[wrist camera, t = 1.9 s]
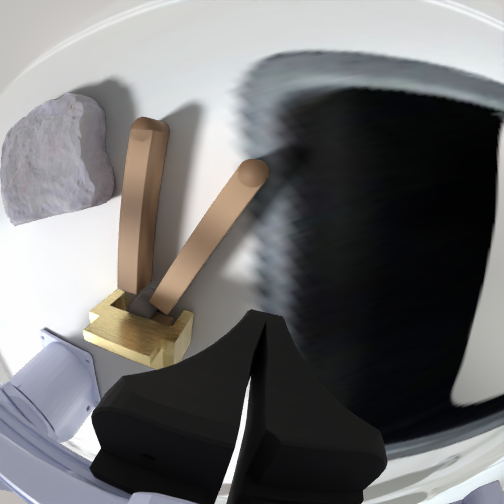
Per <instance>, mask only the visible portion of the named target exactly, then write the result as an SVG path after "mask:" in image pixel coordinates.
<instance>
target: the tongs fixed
mask: <svg viewBox="0 0 504 504" xmlns="http://www.w3.org/2000/svg"><path fill="white" fill-rule="evenodd" d="M168 137H169V127H168V125H167V124H166V123H165V122H162V121H158V120H155V119H151V118H147V117H140V118H138V119H137V120H135V121H134V123H133V124H132V127H131V131H130V137H129V143H128V150H127V156H126V163H125V171H124V179H123V188H122V198H121V209H120V223H119V240H118V289H121V290H124V291H127V292H130V293H133V294H138V293H139V292H140V291H141V290H142V289H143V288H144V287H145V286H146V285H147V284H149V283H150V282H151V278H152V263H153V250H154V239H155V228H156V219H157V210H158V202H159V194H160V187H161V180H162V173H163V167H164V160H165V154H166V148H167V143H168ZM155 291H156V289H153V288H147V289H146V290H145V291H143V292H142V293H141V294H140V295H139V296H138V297H137V298H136V299H135V300H134V301H133V302H132V303H131V304H130V305H129V307H128V310H127V311H126V312H129V313H132V314H135V315H138V316H140V317H143V318H146V319H149V320H152V321H156V322H159V323H162V324H165V325H168V326H171V327H172V317H170V316H166V315H163V314H160V313H157V312H156V311H157V310H158V308H157V307H155V306H154V305H153V304H152V303H150V302H149V300H150V299H151V297H152V295H153V294H154V292H155Z"/></svg>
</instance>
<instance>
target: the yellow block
mask: <svg viewBox="0 0 504 504" xmlns="http://www.w3.org/2000/svg"><path fill="white" fill-rule="evenodd" d="M89 313H90V323H91V324H89V325H88V326H87V327H86V328H85V329H84V330H83V331H84V338H85V340H87V341H89V342H91V343H93V344H94V345H96V346H98V347H101V348H103V349H105V350H108V351H110V352H112V353H115V354H117V355H120V356H122V357H124V358H127V359H130V360H132V361H135V362H137V363H140V364H143V365H145V366H148V367H151V368H154V369H157V370H158V369H161V368H164V367H168V366H171V365H173V364H176V363H179V362H180V361H181V360H182V358H183V356H184V354H185V352H186V350H187V349H188V347H189V345H190V343H191V334H192V325H193V316H194V313H193V312H190V311H186V310H184V311H183V312H182V313H181V315H180V316H179V318H178V319H177V321H176V322H175V323H174V325H173V326H172V327H171V326H168V325H165V324H162V323H159V322H156V321H152V320H149V319H146V318H143V317H140V316H138V315H135V314H132V313H129V312H126V305H125V291H122V290H119V289H117V290H116V291H114V292H113V293H112V294H111V295H109V296H108V297H107V298H106V299H104V300H103V301H102V302H101V303H100V304H98V305H97V306H96V307H95V308H94V309H92V310H91V311H90V312H89Z"/></svg>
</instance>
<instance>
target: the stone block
mask: <svg viewBox="0 0 504 504" xmlns="http://www.w3.org/2000/svg"><path fill="white" fill-rule="evenodd" d="M105 134H106V122H105V113H104V110H103V109H102V108H101V107H100V106H99V105H98V103H97V102H96V101H95V100H94V99H92V98H90V97H88V96H84V95H82V94H75V93H67V94H65V95H64V96H62V97H61V98H60V99H52V100H49V101H46V102H45V103H43V105H40V106H38V107H36V108H35V109H34V110H32V111H31V112H30V113H29V114H28V115H27V116H26V117H24V118H22V119H21V120H20V121H19V122H17V123H16V124H15V125H14V126H13V127H12V128H11V129H10V130H9V131H8V133H7V135H6V138H5V140H4V143H3V146H2V157H1V169H0V178H1V195H2V199H3V204H4V209H5V213H6V214H7V216H8V217H9V219H10V222H11V223H12V224H13V225H14V226H16V225H20V224H24V223H28V222H32V221H36V220H39V219H43V218H47V217H50V216H54V215H59V214H63V213H70V212H74V211H79V210H83V209H86V208H90V207H94V206H99V205H101V204H103V203H106V202H107V201H108V200H109V198H110V197H111V195H112V193H113V191H114V188H115V181H114V175H113V172H112V166H111V164H110V160H109V156H108V153H107V152H106V148H105Z"/></svg>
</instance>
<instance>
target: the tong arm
mask: <svg viewBox="0 0 504 504" xmlns="http://www.w3.org/2000/svg"><path fill="white" fill-rule="evenodd" d="M268 177H269V167H268V165H267V164H266V163H265V162H264V161H262V160H257V159H248V160H245V161H244V162H242V163H241V165H240V166H239V167H238V169H237V170H236V171H235V173H234V174H233V175H232V177H231V178H230V180H229V181H228V182H227V184H226V185H225V187H224V188H223V189H222V191H221V192H220V194H219V195H218V196H217V198H216V199H215V201H214V202H213V204H212V205H211V207H210V208H209V209H208V211H207V212H206V214H205V215H204V217H203V218H202V220H201V221H200V223H199V224H198V225H197V227H196V228H195V230H194V231H193V233H192V234H191V236H190V237H189V239H188V240H187V242H186V243H185V245H184V247H183V248H182V250H181V251H180V253H179V254H178V256H177V257H176V259H175V260H174V262H173V263H172V265H171V267H170V268H169V270H168V271H167V273H166V274H165V276H164V278H163V279H162V281H161V282H160V284H159V286H158V287H157V289H156V291H155V292H154V294H153V295H152V297H151V299H150V300H149V302H150V303H152V304H153V305H154V306H155V307H157V308H158V309H159V310H161V311H162V312H163V313H165V314H166V315H168V314H169V312H170V311H171V310H172V309H173V307H174V306H175V305H176V303H177V302H178V301H179V299H180V298H181V297H182V295H183V294H184V292H185V291H186V289H187V288H188V287H189V285H190V284H191V282H192V281H193V280H194V278H195V277H196V275H197V274H198V273H199V271H200V270H201V268H202V267H203V266H204V264H205V263H206V261H207V260H208V259H209V257H210V256H211V254H212V253H213V252H214V250H215V249H216V248H217V246H218V245H219V243H220V242H221V241H222V239H223V238H224V237H225V235H226V234H227V232H228V231H229V230H230V228H231V227H232V226H233V224H234V223H235V222H236V220H237V219H238V218H239V216H240V215H241V213H242V212H243V211H244V209H245V208H246V207H247V205H248V204H249V203H250V201H251V200H252V199H253V197H254V196H255V195H256V193H257V192H258V191H259V189H260V188H261V187H262V186H263V184H264V183H265V182H266V180H267V179H268Z"/></svg>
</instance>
